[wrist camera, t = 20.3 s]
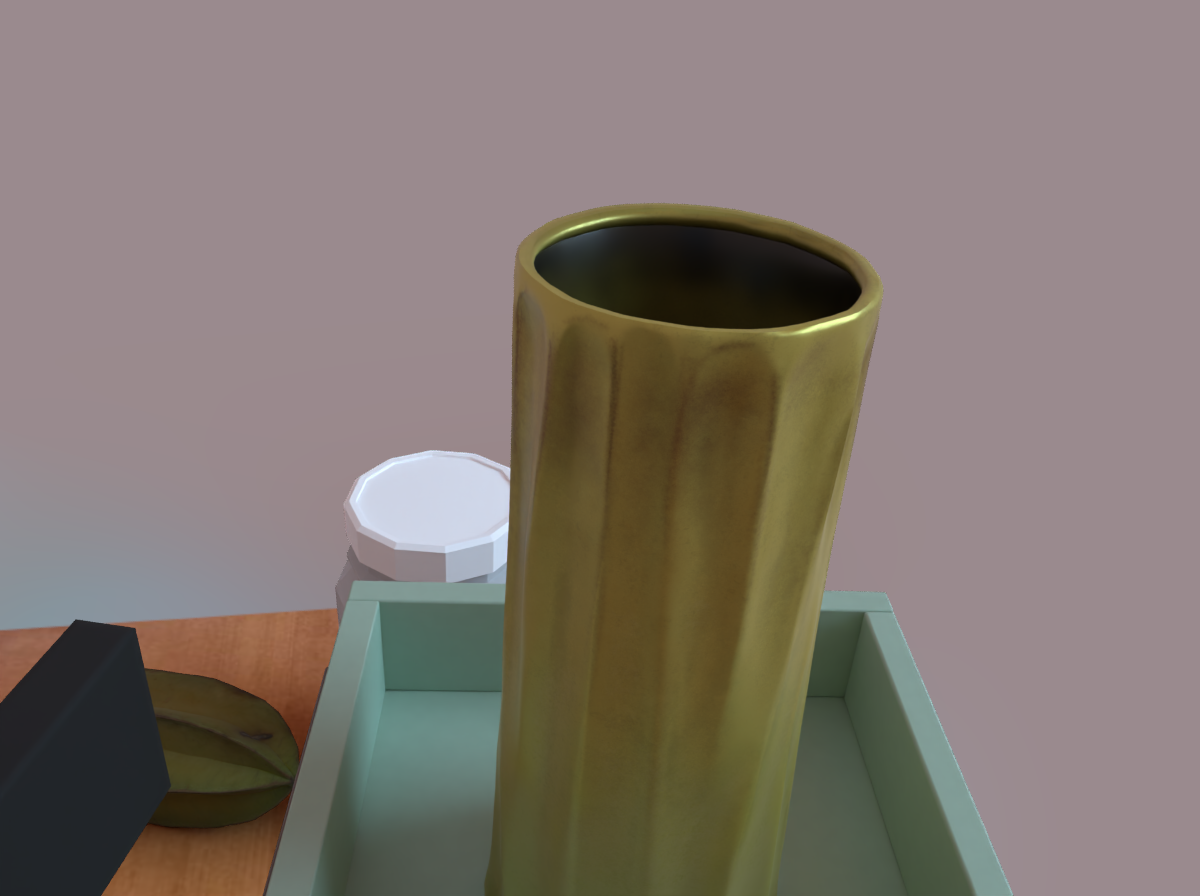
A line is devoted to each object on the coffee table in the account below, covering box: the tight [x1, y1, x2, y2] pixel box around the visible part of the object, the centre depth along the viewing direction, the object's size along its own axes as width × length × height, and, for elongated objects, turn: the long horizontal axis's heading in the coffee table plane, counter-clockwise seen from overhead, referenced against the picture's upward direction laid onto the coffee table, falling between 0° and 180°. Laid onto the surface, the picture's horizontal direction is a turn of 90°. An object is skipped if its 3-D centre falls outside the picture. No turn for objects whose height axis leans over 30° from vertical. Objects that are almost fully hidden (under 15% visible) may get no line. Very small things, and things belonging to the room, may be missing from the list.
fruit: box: [144, 668, 299, 828], centre depth 52 cm, size 11×12×7 cm
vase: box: [484, 203, 883, 896], centre depth 18 cm, size 6×6×14 cm
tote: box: [266, 581, 1013, 896], centre depth 22 cm, size 14×14×4 cm
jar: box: [335, 450, 510, 626], centre depth 52 cm, size 10×10×18 cm
